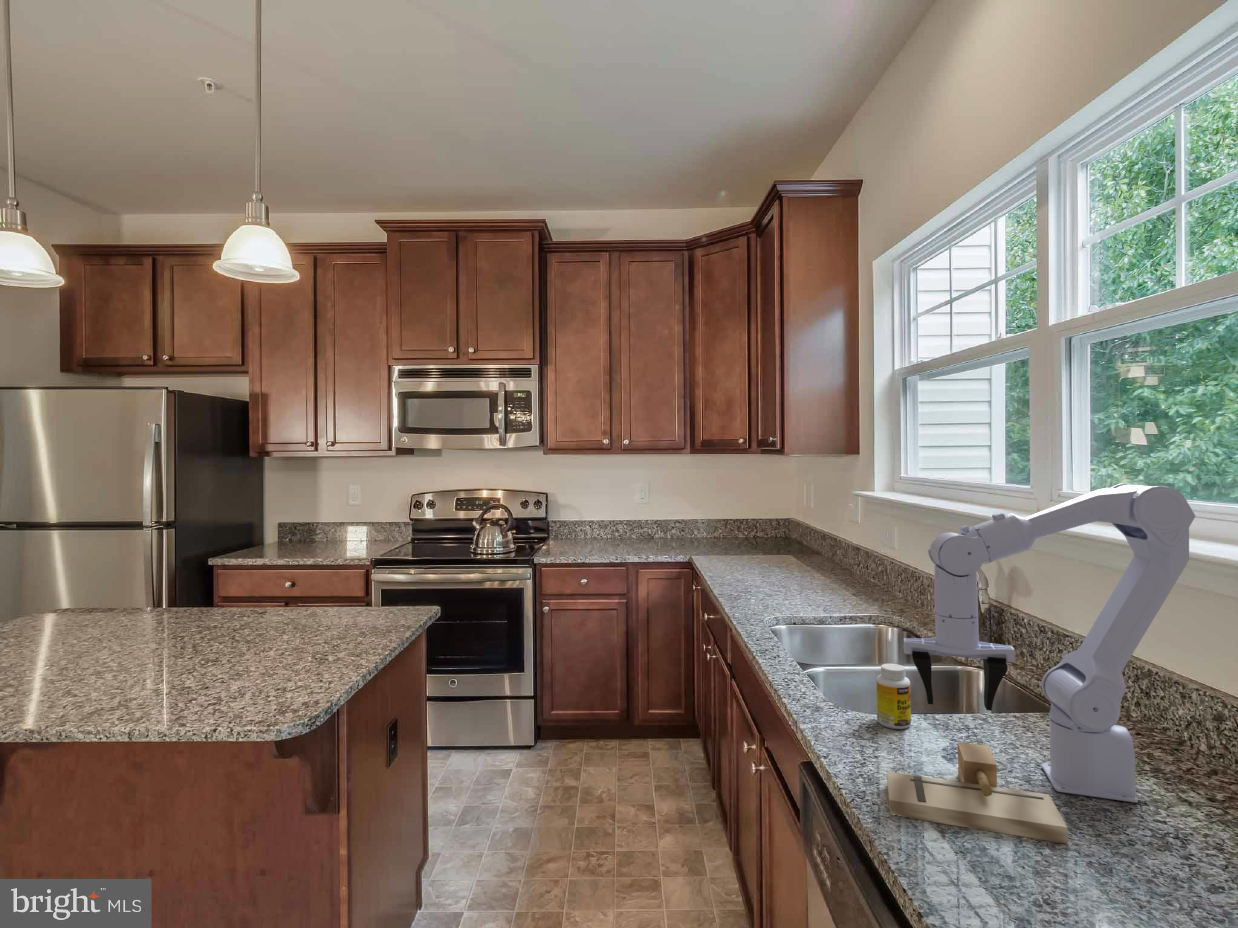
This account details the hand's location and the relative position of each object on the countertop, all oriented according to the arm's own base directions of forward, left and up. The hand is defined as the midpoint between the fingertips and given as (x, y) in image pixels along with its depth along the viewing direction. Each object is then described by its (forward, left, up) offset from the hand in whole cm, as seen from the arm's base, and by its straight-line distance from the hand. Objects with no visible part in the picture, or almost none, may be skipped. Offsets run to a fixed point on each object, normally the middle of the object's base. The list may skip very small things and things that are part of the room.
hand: (958, 704), depth 94 cm
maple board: (0, +11, -10) cm, 15 cm away
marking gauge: (-2, +6, -11) cm, 12 cm away
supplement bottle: (+8, -16, -11) cm, 21 cm away
